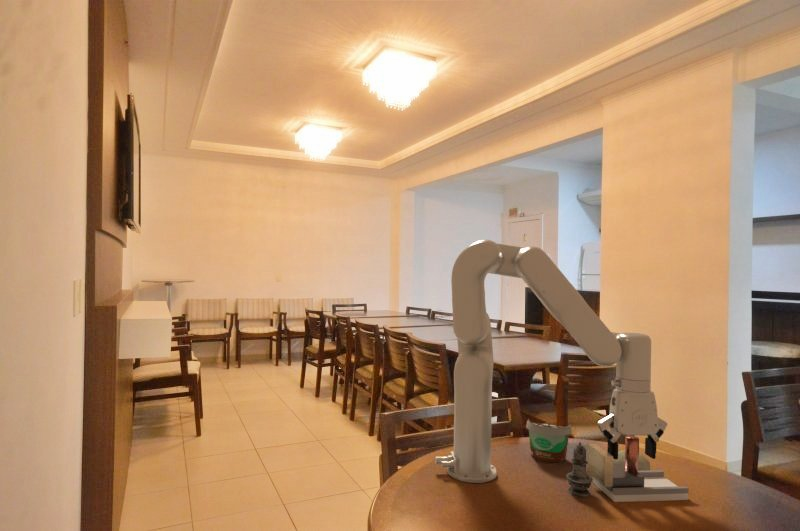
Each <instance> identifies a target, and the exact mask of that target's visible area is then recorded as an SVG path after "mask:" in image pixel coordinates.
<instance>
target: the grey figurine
mask: <svg viewBox="0 0 800 531" xmlns="http://www.w3.org/2000/svg"><path fill="white" fill-rule="evenodd" d="M571 462H572V471H571V472H568V473H567V474H566V475H565V477H566V478H567V482H568V485H569V486H570V487H568V488H567V490H566V491H567V493H568V494H569V495H571V496H573V497H575V496H576V498H580V497H581V498H580V499H583V498H584V499H587V498H589V497H591V496H592V493H591V492H590V490H588V489H589V488H590V487H591V485H592V483H593V477H592V476H591V475H590V474H589V475H588V471H587V465H588V460H587V449H586V447H585V446H584V445H582V442H581V441H579V442H578V444H577V445H575V446H574V447H573V458H572V459H571Z"/></svg>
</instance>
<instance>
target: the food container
mask: <svg viewBox="0 0 800 531" xmlns="http://www.w3.org/2000/svg"><path fill="white" fill-rule="evenodd" d="M525 427H526V429H528V436H529V445H530V446H529V448H530V457H531V458H532V459H534V460H535V461H537V462H540V463H543V464H544V463H545V464H550V465H557V464H558V465H559V464H563V463H564V462H565V461H566V460H567V452H568V445H569V438H570V436H569V435H570V434H572V432H573V431H572V427H571V424H570V423H569V425H567V426H563V425H557V424H555V423H554V424H553V423H551V422H550V423H549V422H541V423H540V422H532V421H530V418H528V419H527V421H526V426H525ZM562 462H563V463H562Z"/></svg>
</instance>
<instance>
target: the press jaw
mask: <svg viewBox="0 0 800 531" xmlns="http://www.w3.org/2000/svg"><path fill="white" fill-rule="evenodd" d="M624 436H625V442H624V450H625V465H613V456H612V455H611V454H609V453H608V451H606V450H605V449H604V448H603V447H601V446H599V444H598V443H588V444H587V462H588V463H587V474H589V476H590V477H591V478H592V479H593V478H595V479H596V480H597V481H598V482H599V483H600V484H601V485H603V486H604V487H607V488H608V489H610V490H611V491H612V488H636V487H644V477H643V476H642V475H640V474H639V453H640V437H638V436H637V435H624Z"/></svg>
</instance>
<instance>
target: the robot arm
mask: <svg viewBox="0 0 800 531" xmlns="http://www.w3.org/2000/svg"><path fill="white" fill-rule="evenodd" d="M488 274H491V275H492V274H493V275H497V276H504V277H505V276H506V277H510V278H517V279H522V280H523V281H524V283H525V284H526V286H528V288H529V289H530V290H531V291H532V293H533V294H534V295H535V296H536V297H537V299H538V300H539V301H540V302H541V304H542V305H543V307H544V308H545V309H546V310H547V311H548V312H549V314H550V315H551V316H552V317H553V318H554V319H555V320H556V321H557V322H558V323H559V324H561V326H563V328H564V329H565V330H566V331H567V332H568V334H570V336H571V337H572V338H573V340H575V341H576V343H577V344H578V346H580V348H581V350H582V351H583V352H584V354H585V355H586V356H587V357H588V358H589V360H590V361H592V363H594V364H595V365H597V366H600V367H611V366H614V365H615V376H614V378H615V379H614V380H613V379H612V380H611V382H610V383H611V386H612V387H615V388H614V389H613V390H612V393H611V398H610V404H609V415H607V416H605V417H603V418H601V419H600V420H598V421H597V423H596V425H597V426H598V429H599V431H600V433H601V434H602V435H603V437H605V438H606V440H607V449H606V450H607V452H608V453H609V454H611V455H612V456H613V459H618V451H619V443H618V442H617V441H618V439H619V438H620V437H621V436H628V435H630V436H647V437H645V439H644V454H645V455H646V456H647V457H649V458H651V459H653V460H655V459H656V454H657V443H659V441H660V438H661V437H662V436H663V435H664V433H665V430H666V428H667V427H668V422H667V421H665V420H664V419H662V418H660V417H658V407H657V402H656V396H655V392H654V391H651V388H652V387H651V385H652V382H651V381H652V377H651V376H652V375H651V374H652V339H651V337H650V336H649V335H647V334H645V333H638V332H613V331H611V330H610V329H609V328H608V327H607V325H606V324H605V323H604V321H602V319H600V317H599V316H598V315H597V313H596V312H595V311H594V310H593V309H592V307H590V306H589V304H588V302H586V300H585V299H584V297H583V296H582V295H581V293H580V292H579V291H578V290H577V289H576V288H575V286H574V285H573V284H572V283H571V282H570V281H569V279H568V278H567V277H566V275H565V274H564V273H562V271H561V270H560V268H559V267H558V266H557V264H555V263H554V261H553V260H552V259H551V257H549V255H548V254H547V253H546V252H545V251H544V250H543V249H541V248H539V247H538V246H527V247H524V246H516V245H509V244H502V243H496V242H495V241H493V240H491V239H480V240H477V241H475V242H473V243H471V244H469V246H468V247H466V248H465V249H464V250H463V251H461V252H460V254H459V255H458V256H457V258H456V260H455V261H454V265H453V268H452V270H451V282H450V283H451V302H452V303H451V304H452V321H453V322H452V328H453V333H454V335H455V338H456V340H457V349H458V350H457V351H458V352H457V353H458V357H457V358H456V361H455V363H454V369H453V389H454V394H453V395H454V397H453V399H454V400H453V401H454V403H453V404H454V405H453V408H454V409H453V413H454V414H453V416H454V417H453V450H451V451H450V454H447V455H446V456H440V455H437V456H436V455H435V457H434V462H435V465H441V468H447V469H446V471H447V474H448V475H449V476H450V477H452V478H453V479H455V480H457V481H460V482H464V483H470V484H473V483H474V484H481V483H482V484H483V483H487V482H488V483H489V482H490V481H493V480H494V479H495V478H496V477H497V475H498V474H497V473H498V472H497V468H496V466H494V465H493V464H492V463H491V461H492V456H491V455H492V416H493V415H492V407H493V406H492V404H493V403H492V402H493V398H492V397H493V394H492V393H493V374H494V373H493V372H494V371H493V370H494V364H495V362H494V360H495V359H494V351H493V348H494V347H493V336H492V325H491V322H492V321H491V319H490V315H489V314H488V313H487V307H486V290H485V279H486V276H487V275H488ZM608 425H609V430H608V429H607V426H608Z"/></svg>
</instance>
